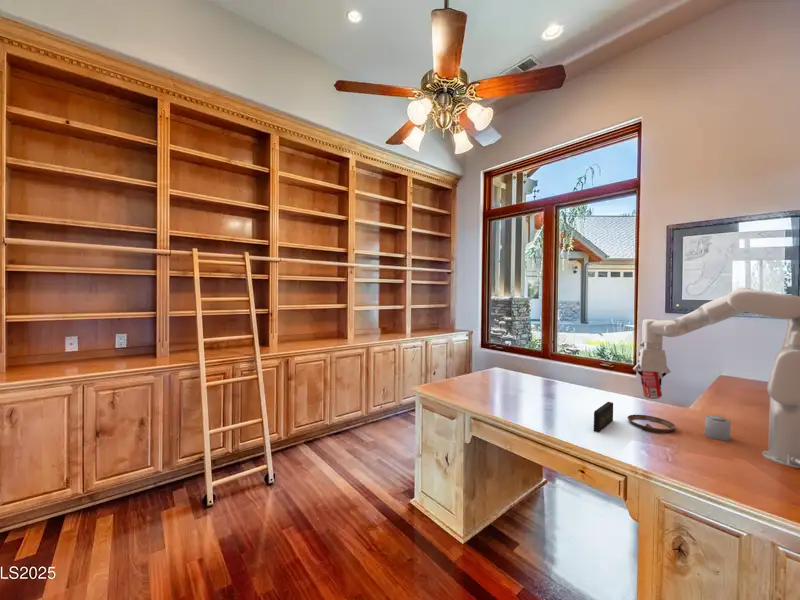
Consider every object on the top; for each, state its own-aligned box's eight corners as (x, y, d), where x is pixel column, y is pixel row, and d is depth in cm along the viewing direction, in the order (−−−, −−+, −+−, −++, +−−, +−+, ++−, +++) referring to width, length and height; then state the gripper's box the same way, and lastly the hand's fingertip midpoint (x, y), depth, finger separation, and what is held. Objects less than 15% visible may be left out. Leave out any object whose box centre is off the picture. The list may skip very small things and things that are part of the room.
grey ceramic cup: (735, 443, 141) (735, 421, 140) (711, 440, 143) (711, 419, 143) (723, 435, 148) (723, 415, 148) (700, 433, 151) (701, 413, 150)
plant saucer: (673, 425, 160) (673, 419, 160) (677, 439, 145) (677, 431, 145) (627, 418, 170) (627, 411, 170) (627, 429, 155) (627, 422, 155)
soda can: (665, 399, 154) (662, 370, 154) (646, 400, 156) (643, 371, 155) (657, 394, 161) (654, 366, 160) (640, 394, 163) (636, 367, 162)
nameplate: (608, 422, 164) (608, 401, 164) (612, 423, 162) (613, 402, 162) (593, 434, 149) (594, 411, 149) (598, 435, 148) (598, 412, 148)
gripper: (633, 346, 156) (632, 386, 156) (678, 348, 151) (677, 390, 151) (627, 344, 163) (627, 382, 163) (670, 345, 158) (669, 385, 159)
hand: (651, 385), depth 157 cm, fingers closed on soda can, 4 cm apart
